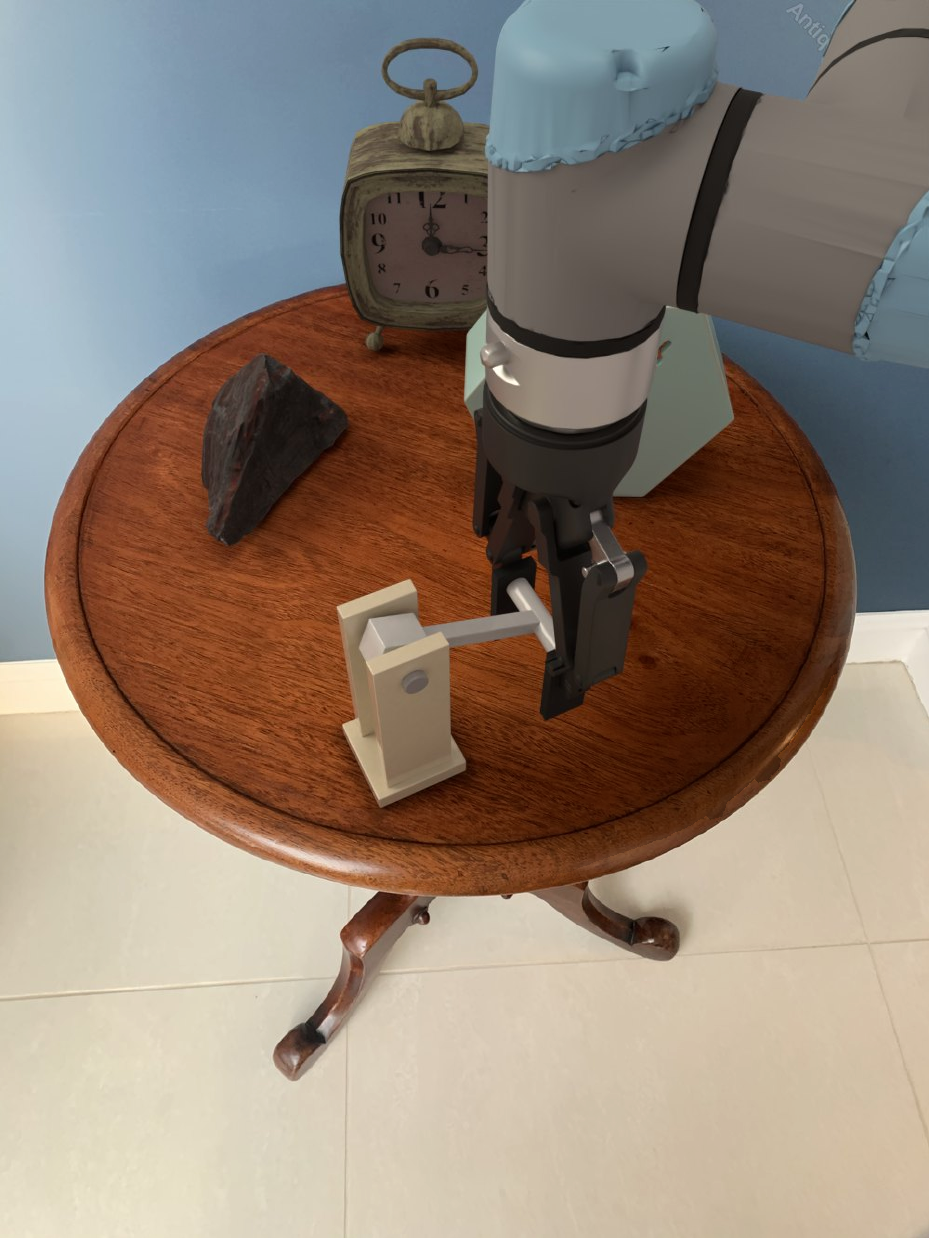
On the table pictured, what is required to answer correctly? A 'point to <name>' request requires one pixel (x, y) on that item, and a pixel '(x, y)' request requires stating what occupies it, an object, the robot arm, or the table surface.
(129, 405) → the table surface
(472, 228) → the tabletop clock
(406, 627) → the faucet handle
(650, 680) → the table surface
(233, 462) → the rock
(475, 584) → the table surface
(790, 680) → the table surface
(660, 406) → the planter
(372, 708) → the faucet bracket
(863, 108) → the robot arm
